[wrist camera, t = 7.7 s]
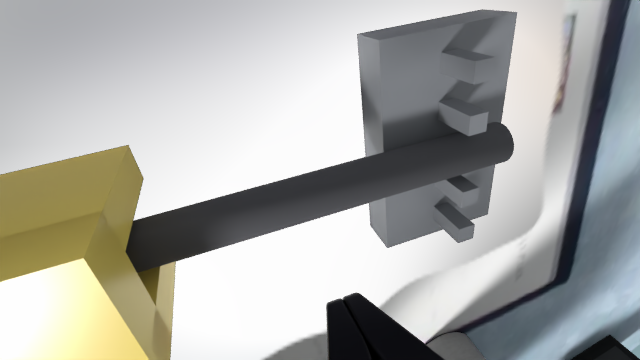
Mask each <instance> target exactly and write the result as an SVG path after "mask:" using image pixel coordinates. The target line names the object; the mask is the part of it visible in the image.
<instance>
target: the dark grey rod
mask: <svg viewBox="0 0 640 360" xmlns="http://www.w3.org/2000/svg"><path fill="white" fill-rule="evenodd" d="M513 150H514V143H513V138H512V135H511V133H510V131H509V130H508V129H507V127H506V126H504V125H503V124H501V123H499V122H492V123H488V124H487V129H486V132H482V133H478V134H475V135H471V136H467V135H465V134H463V133H461V132H460V131H459V132H455V133H452V134H448V135H444V136H441V137H437V138H433V139H430V140H426V141H422V142H419V143H415V144H412V145H408V146H404V147H401V148H397V149H393V150H390V151H386V152H382V153H379V154H375V155H371V156H368V157H364V158H361V159H357V160H353V161H350V162H346V163H343V164H339V165H335V166H331V167H328V168H324V169H320V170H317V171H313V172H310V173H306V174H302V175H299V176H295V177H291V178H288V179H284V180H281V181H277V182H273V183H269V184H266V185H262V186H259V187H255V188H251V189H247V190H244V191H241V192H237V193H233V194H229V195H226V196H222V197H218V198H215V199H211V200H208V201H204V202H200V203H196V204H193V205H189V206H186V207H182V208H179V209H175V210H171V211H167V212H164V213H161V214H157V215H153V216H149V217H146V218H142V219H138V220H135V221H133V223H132V227H131V231H130V235H129V239H128V243H127V247H126V251H125V252H126V254H127V256H128V257H129V259H130V261H131V263H132V265H133V266H134V268H135V270H136V272H137V273H139V272H142V271H146V270H149V269H152V268H156V267H159V266H162V265H166V264H169V263H172V262H175V261H178V260H182V259H185V258H189V257H192V256H195V255H198V254H202V253H205V252H208V251H211V250H215V249H218V248H221V247H225V246H228V245H231V244H235V243H238V242H241V241H244V240H248V239H251V238H254V237H258V236H261V235H264V234H268V233H271V232H274V231H278V230H281V229H284V228H287V227H291V226H294V225H297V224H301V223H304V222H307V221H310V220H314V219H317V218H320V217H323V216H327V215H330V214H333V213H337V212H340V211H343V210H347V209H350V208H353V207H356V206H360V205H363V204H366V203H370V202H373V201H376V200H380V199H383V198H386V197H390V196H393V195H396V194H399V193H403V192H406V191H409V190H413V189H416V188H419V187H423V186H426V185H429V184H432V183H436V182H439V181H442V180H446V179H449V178H452V177H456V176H459V175H462V174H465V173H469V172H472V171H475V170H479V169H482V168H485V167H488V166H492V165H495V164H498V163H501V162H505V161H507V160H508V159H510V157H511V156H512V153H513Z"/></svg>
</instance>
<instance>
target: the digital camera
mask: <svg viewBox="0 0 640 360" xmlns="http://www.w3.org/2000/svg"><path fill="white" fill-rule="evenodd" d="M571 360H640V359H639V358H637V357H636V356H635V355H634V354H633V353H632V352H630V351H629V350H628V349H627V348H625V347H624V346H623V345H622V344H621V343H619V342H618V341H617V340H616V339H615V338H613V337H612V336H611V335H609V336H607V337H605V338H604V339H602V340H600V341H599V342H597V343H596V344H594V345H593V346H591V347H590V348H588V349H587V350H585V351H583V352H582V353H580V354H579V355H577V356H576V357H574V358H573V359H571Z"/></svg>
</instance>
